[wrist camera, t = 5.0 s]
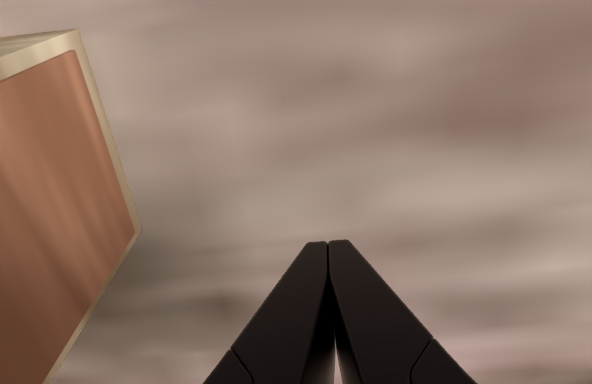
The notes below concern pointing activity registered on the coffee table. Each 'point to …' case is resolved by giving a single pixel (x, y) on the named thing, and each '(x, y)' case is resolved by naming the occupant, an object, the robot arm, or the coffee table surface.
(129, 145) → the coffee table surface
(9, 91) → the birch tile
